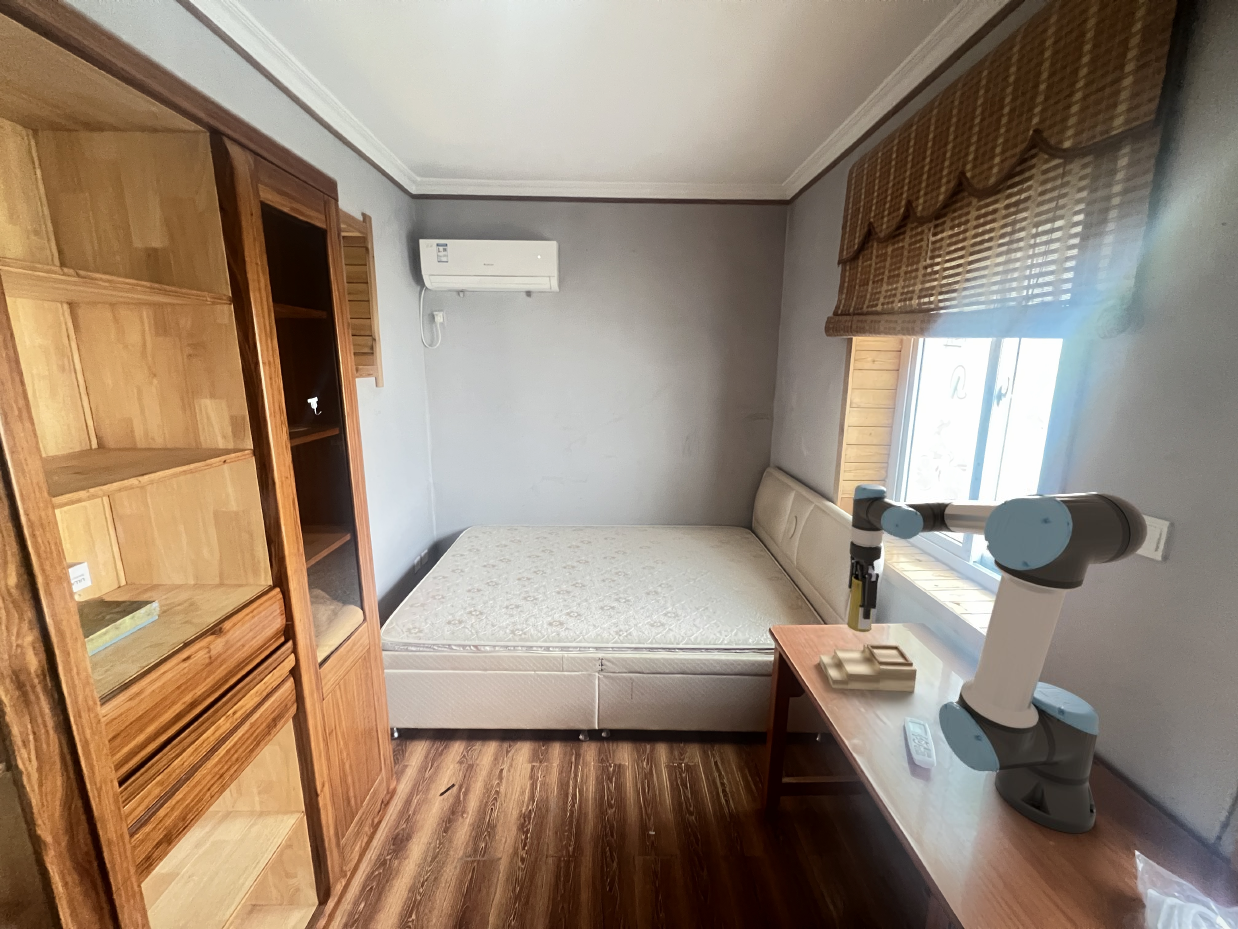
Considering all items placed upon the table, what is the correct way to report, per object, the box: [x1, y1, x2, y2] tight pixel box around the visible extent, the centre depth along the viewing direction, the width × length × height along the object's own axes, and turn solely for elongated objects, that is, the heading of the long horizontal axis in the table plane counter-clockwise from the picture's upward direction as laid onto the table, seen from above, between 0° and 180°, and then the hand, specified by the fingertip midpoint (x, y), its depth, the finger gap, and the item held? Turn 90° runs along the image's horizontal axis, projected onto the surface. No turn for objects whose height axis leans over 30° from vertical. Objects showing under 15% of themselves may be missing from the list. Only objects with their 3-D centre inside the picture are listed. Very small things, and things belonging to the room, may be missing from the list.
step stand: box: [818, 643, 917, 693], centre depth 138 cm, size 12×21×7 cm, turn 84°
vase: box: [846, 575, 873, 633], centre depth 135 cm, size 6×6×14 cm
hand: (859, 622), depth 136 cm, fingers closed on vase, 6 cm apart
